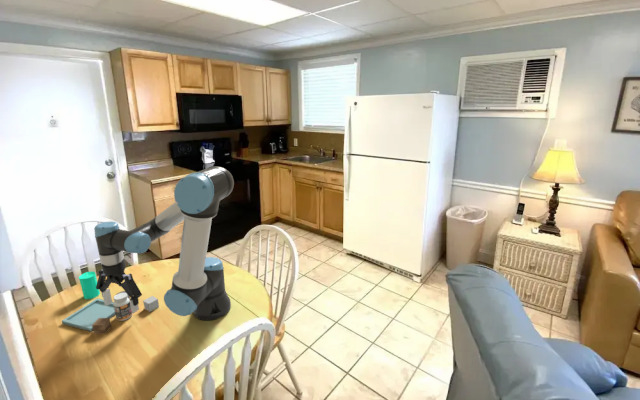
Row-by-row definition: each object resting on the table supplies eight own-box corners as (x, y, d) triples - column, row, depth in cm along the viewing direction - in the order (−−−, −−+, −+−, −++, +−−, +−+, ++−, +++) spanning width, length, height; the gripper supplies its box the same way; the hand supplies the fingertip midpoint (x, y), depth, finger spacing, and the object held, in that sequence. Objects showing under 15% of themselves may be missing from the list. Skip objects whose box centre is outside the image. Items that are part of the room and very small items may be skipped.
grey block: (159, 306, 133) (157, 298, 132) (150, 312, 130) (148, 303, 129) (153, 303, 135) (152, 295, 134) (144, 308, 132) (143, 300, 131)
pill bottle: (125, 322, 124) (120, 301, 120) (113, 320, 125) (108, 299, 122) (136, 313, 129) (132, 292, 126) (124, 311, 130) (119, 290, 127)
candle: (96, 290, 144) (90, 267, 140) (102, 294, 141) (97, 270, 137) (81, 296, 139) (75, 273, 135) (87, 301, 136) (81, 277, 132)
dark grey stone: (132, 297, 139) (131, 292, 138) (122, 304, 134) (121, 298, 133) (123, 295, 140) (122, 290, 139) (113, 302, 135) (112, 296, 135)
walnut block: (111, 326, 121) (109, 317, 120) (105, 333, 118) (103, 325, 116) (100, 326, 121) (98, 318, 120) (94, 334, 117) (91, 325, 116)
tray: (125, 307, 132) (124, 304, 132) (91, 331, 118) (91, 328, 118) (98, 301, 136) (97, 298, 135) (62, 323, 122) (61, 320, 122)
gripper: (147, 262, 119) (154, 308, 126) (96, 251, 125) (106, 296, 132) (130, 272, 112) (139, 320, 119) (78, 260, 119) (89, 306, 125)
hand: (121, 307), depth 125 cm, fingers open, 13 cm apart
